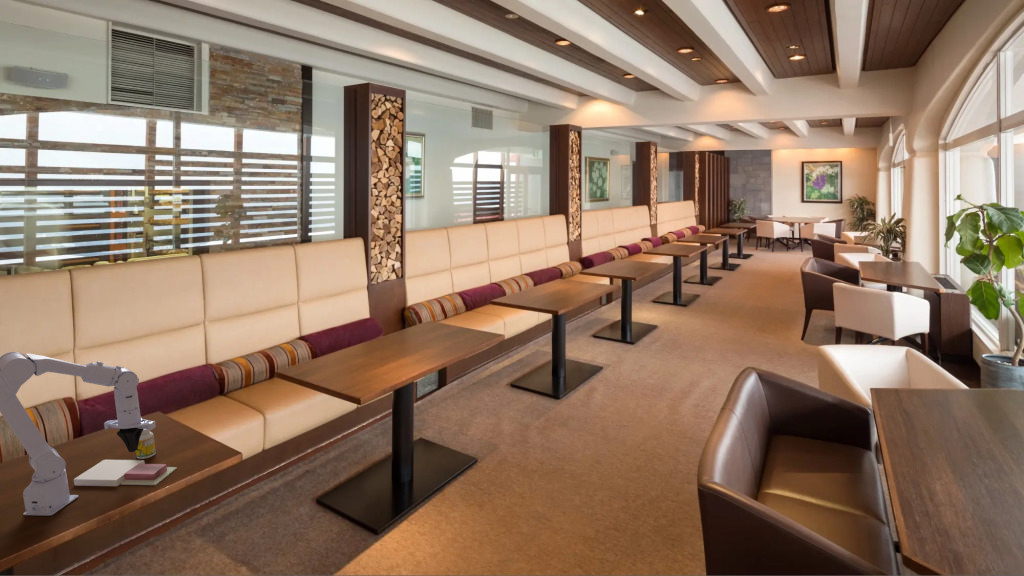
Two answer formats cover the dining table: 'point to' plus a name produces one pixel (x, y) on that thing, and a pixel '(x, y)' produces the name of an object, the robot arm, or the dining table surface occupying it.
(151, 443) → the supplement bottle
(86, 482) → the white flat block
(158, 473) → the tile
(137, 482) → the mat
